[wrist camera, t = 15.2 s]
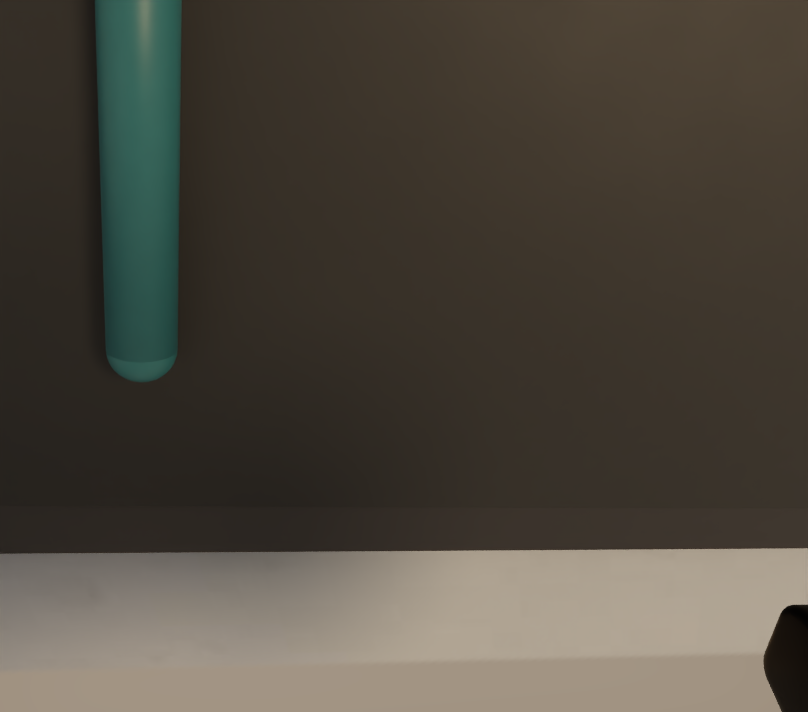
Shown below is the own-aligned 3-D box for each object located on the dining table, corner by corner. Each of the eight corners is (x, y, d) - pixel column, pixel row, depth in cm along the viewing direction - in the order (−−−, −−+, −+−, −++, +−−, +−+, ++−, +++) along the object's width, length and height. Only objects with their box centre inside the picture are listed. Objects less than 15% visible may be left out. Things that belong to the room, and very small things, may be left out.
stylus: (187, 387, 14) (202, -449, 10) (118, 398, 14) (96, -512, 9) (164, 361, 15) (166, -409, 11) (98, 370, 15) (68, -461, 10)
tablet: (1262, -282, 14) (1330, -307, 13) (895, 529, 22) (922, 550, 21) (-334, -647, 10) (-404, -726, 9) (-80, 531, 17) (-102, 558, 16)
